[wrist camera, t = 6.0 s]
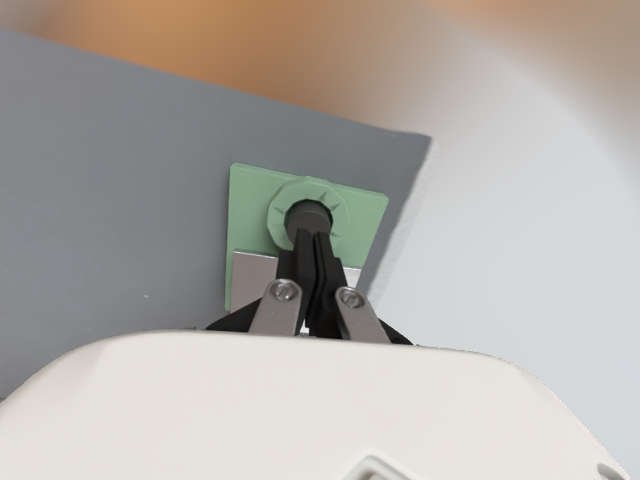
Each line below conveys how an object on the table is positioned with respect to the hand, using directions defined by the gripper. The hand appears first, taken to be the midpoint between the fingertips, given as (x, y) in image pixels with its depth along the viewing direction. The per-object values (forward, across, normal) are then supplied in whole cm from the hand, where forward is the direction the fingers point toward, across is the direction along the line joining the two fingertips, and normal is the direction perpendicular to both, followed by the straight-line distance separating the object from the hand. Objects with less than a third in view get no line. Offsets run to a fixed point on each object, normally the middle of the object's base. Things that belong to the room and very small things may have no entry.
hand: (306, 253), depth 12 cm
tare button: (+5, 0, 0) cm, 5 cm away
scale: (+7, 0, +5) cm, 9 cm away
